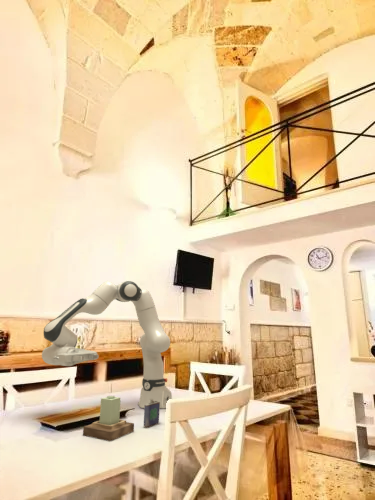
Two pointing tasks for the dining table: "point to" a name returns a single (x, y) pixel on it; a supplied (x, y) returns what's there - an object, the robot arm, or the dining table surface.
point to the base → (108, 430)
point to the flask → (151, 413)
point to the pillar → (110, 410)
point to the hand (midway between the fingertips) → (90, 357)
